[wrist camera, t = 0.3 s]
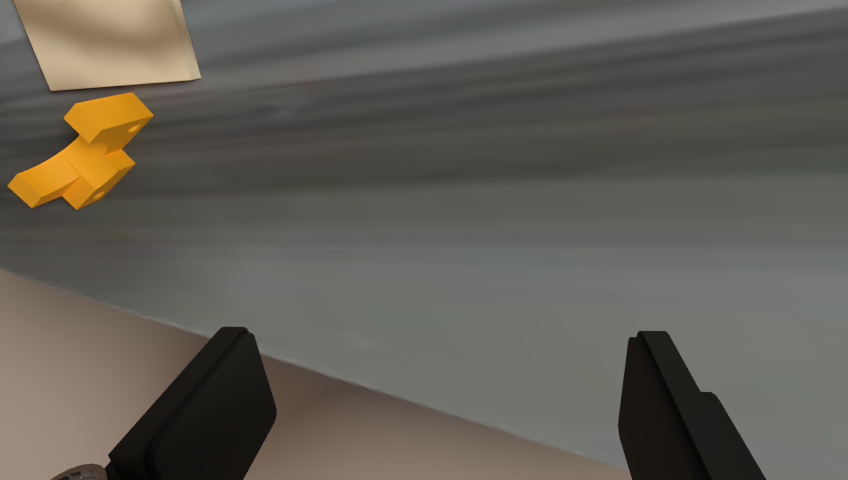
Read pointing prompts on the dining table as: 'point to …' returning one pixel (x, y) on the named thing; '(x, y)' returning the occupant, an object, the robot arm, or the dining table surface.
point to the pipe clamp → (87, 154)
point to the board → (109, 42)
